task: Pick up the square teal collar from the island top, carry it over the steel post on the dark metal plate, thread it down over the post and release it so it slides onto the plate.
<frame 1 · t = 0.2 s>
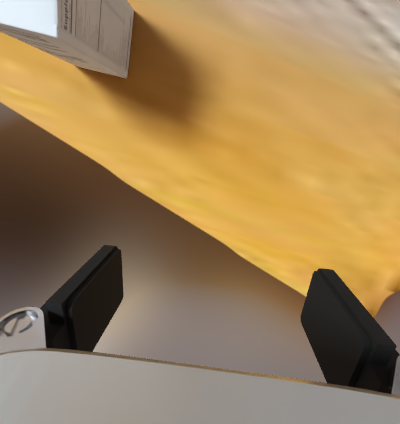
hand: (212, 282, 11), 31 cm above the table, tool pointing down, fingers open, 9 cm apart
supplement box: (103, 40, 35), on the table
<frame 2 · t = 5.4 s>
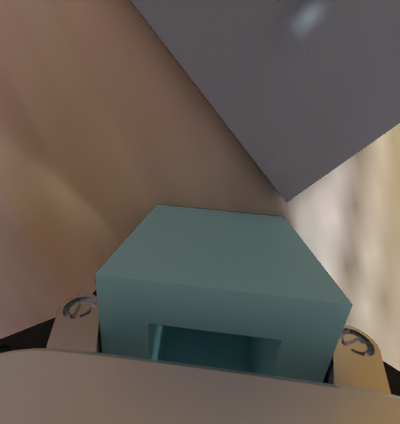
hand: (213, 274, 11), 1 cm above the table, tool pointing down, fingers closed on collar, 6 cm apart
collar: (213, 265, 12), on the table, touching gripper
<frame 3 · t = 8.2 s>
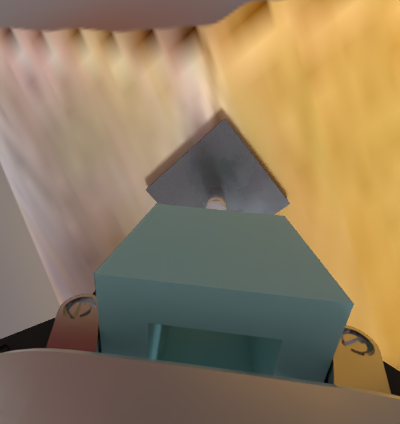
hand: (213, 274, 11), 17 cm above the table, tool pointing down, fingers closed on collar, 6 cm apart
collar: (213, 264, 12), point 16 cm above the table, touching gripper
shaft stand: (216, 194, 27), on the table
when the fingers open (5 cm above the table, at t = 11.0 s): collar drops 3 cm, resting on shaft stand.
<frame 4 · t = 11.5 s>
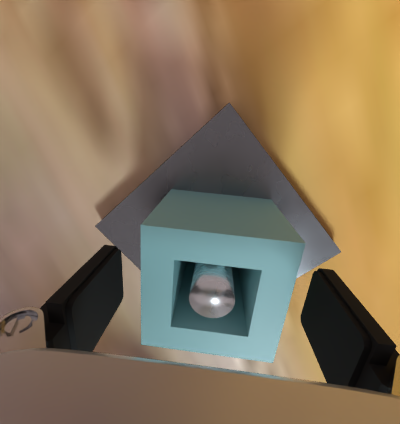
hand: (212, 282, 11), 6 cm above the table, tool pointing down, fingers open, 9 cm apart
collar: (215, 239, 15), point 1 cm above the table, touching shaft stand
shaft stand: (214, 232, 16), on the table
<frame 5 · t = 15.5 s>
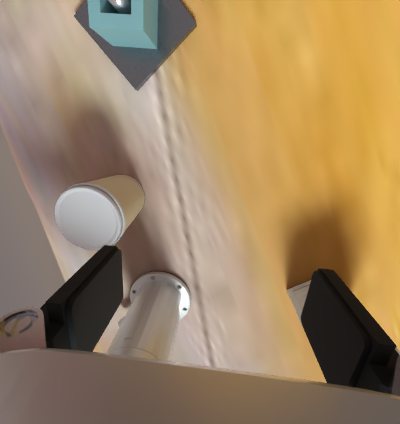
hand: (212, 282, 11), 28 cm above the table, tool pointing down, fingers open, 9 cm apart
supplement box: (317, 296, 44), on the table
collar: (134, 19, 30), point 1 cm above the table, touching shaft stand
shaft stand: (136, 22, 31), on the table
coffee cup: (124, 195, 40), on the table
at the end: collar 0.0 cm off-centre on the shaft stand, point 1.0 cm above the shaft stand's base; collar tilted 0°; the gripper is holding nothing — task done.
